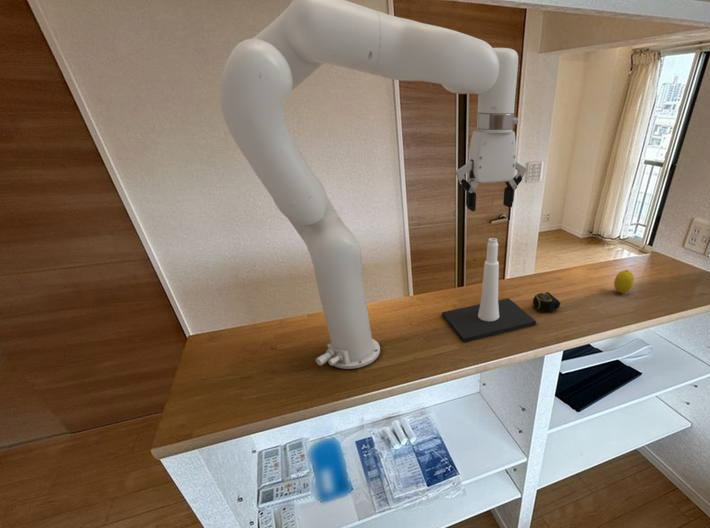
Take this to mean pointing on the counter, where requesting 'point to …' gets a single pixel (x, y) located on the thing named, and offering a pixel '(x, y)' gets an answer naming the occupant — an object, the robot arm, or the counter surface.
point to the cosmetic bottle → (490, 284)
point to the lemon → (624, 281)
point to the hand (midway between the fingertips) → (489, 208)
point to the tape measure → (545, 302)
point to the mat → (475, 328)
